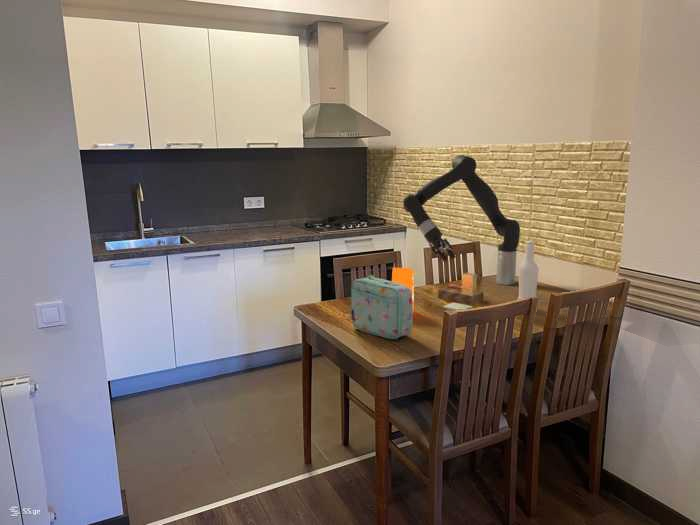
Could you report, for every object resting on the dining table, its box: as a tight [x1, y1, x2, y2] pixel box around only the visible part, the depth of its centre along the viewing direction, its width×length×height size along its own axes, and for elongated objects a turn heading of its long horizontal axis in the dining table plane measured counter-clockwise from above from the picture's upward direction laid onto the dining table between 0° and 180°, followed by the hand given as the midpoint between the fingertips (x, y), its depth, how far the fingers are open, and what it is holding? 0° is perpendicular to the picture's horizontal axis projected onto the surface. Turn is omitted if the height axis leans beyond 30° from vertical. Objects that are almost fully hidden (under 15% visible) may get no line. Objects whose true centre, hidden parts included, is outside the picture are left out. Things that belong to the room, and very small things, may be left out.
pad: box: [442, 301, 474, 311], centre depth 220 cm, size 10×8×1 cm
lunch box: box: [349, 274, 414, 340], centre depth 189 cm, size 27×10×21 cm, turn 45°
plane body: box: [437, 282, 484, 306], centre depth 232 cm, size 18×10×6 cm, turn 47°
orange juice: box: [391, 267, 415, 312], centre depth 212 cm, size 8×9×20 cm
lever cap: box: [461, 272, 478, 296], centre depth 224 cm, size 6×3×10 cm, turn 47°
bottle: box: [517, 240, 539, 300], centre depth 212 cm, size 8×8×30 cm
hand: (450, 259), depth 228 cm, fingers open, 8 cm apart
